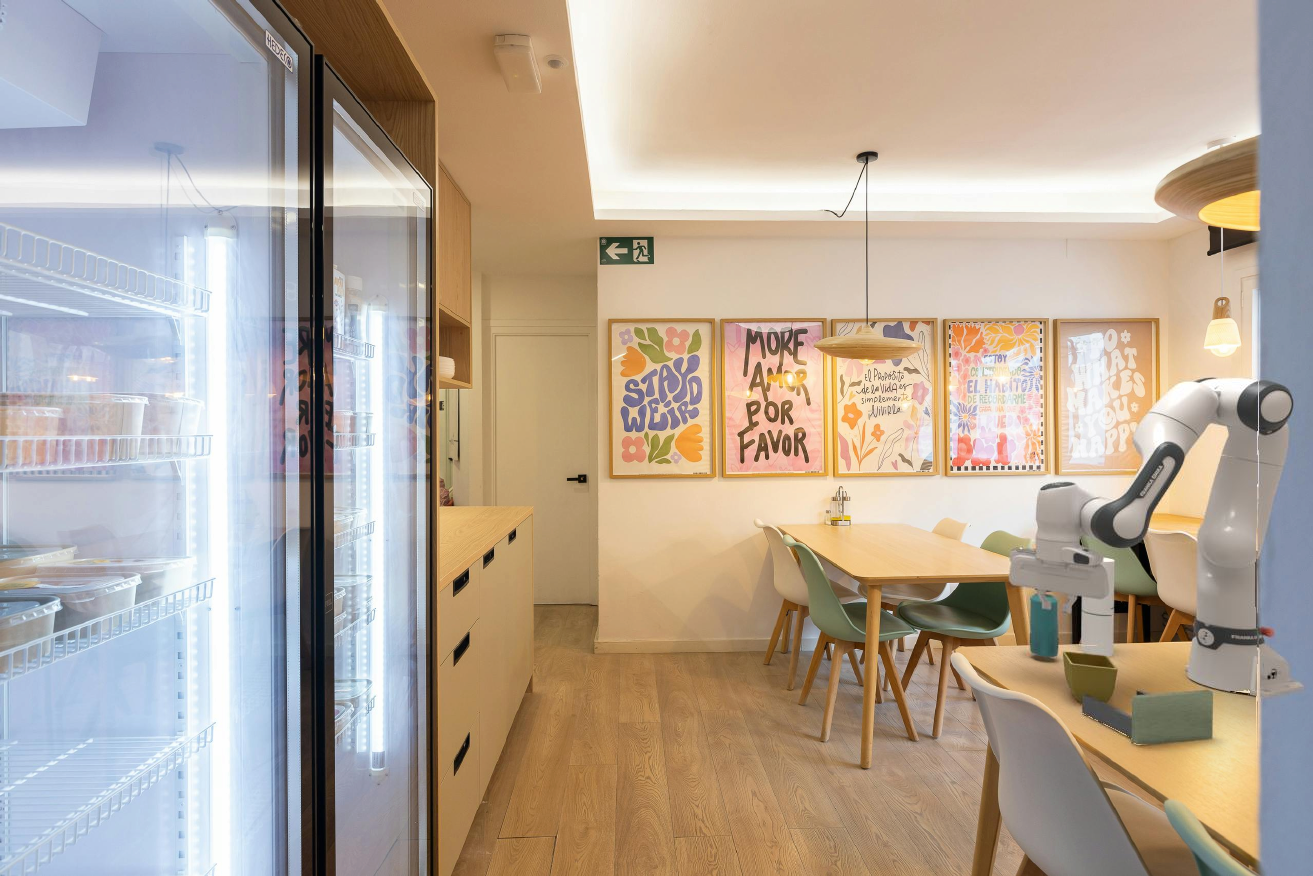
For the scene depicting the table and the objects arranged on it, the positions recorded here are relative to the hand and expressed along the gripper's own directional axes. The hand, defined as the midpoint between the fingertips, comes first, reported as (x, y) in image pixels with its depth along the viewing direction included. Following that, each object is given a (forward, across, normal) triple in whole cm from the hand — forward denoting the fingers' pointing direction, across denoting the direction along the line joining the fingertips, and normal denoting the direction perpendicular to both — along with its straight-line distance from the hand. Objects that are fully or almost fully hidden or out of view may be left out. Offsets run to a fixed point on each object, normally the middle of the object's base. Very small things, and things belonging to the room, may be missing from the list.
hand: (1056, 610), depth 156 cm
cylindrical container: (+17, 0, +33) cm, 37 cm away
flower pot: (+17, +8, -5) cm, 20 cm away
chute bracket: (+17, +19, -12) cm, 28 cm away
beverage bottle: (+17, -8, +17) cm, 25 cm away
